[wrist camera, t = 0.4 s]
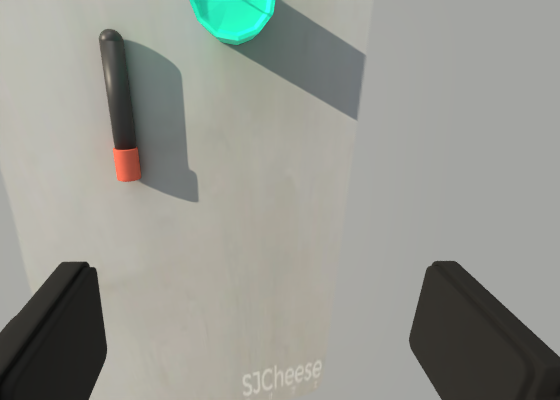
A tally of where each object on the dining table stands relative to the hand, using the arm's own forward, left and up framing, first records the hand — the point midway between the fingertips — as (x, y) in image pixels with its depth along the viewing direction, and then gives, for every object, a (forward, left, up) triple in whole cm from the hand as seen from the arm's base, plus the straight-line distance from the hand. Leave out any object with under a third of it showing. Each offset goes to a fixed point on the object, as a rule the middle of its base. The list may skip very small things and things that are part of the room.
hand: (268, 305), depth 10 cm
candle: (-11, -1, -30) cm, 32 cm away
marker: (-2, -12, -30) cm, 32 cm away
